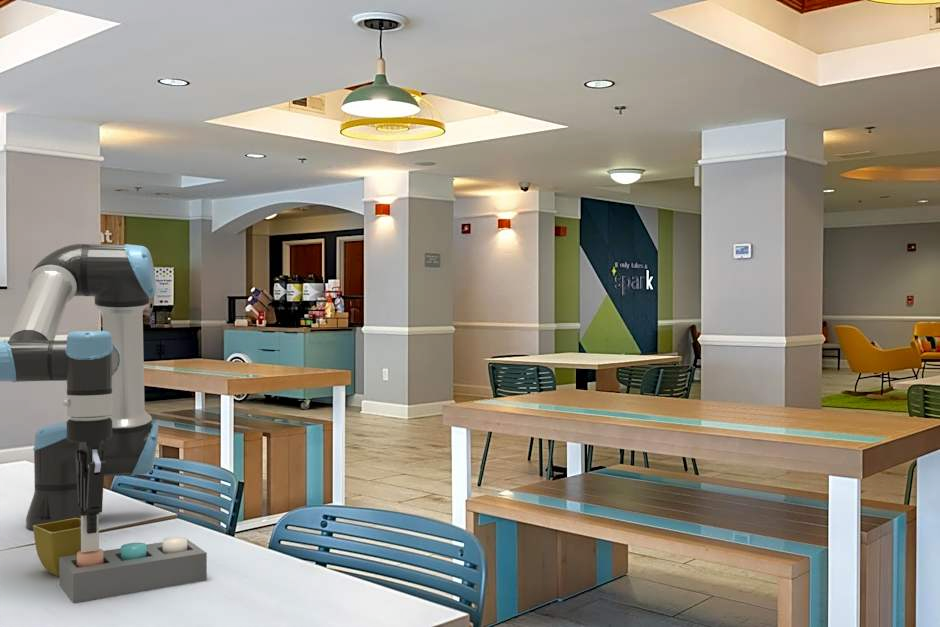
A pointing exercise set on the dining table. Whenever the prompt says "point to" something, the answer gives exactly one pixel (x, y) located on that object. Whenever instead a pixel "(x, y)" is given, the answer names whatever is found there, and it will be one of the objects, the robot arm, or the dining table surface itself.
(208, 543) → the dining table surface
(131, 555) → the teal button
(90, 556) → the terracotta button
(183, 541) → the cream button
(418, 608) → the dining table surface
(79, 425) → the robot arm
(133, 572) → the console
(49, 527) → the flower pot
